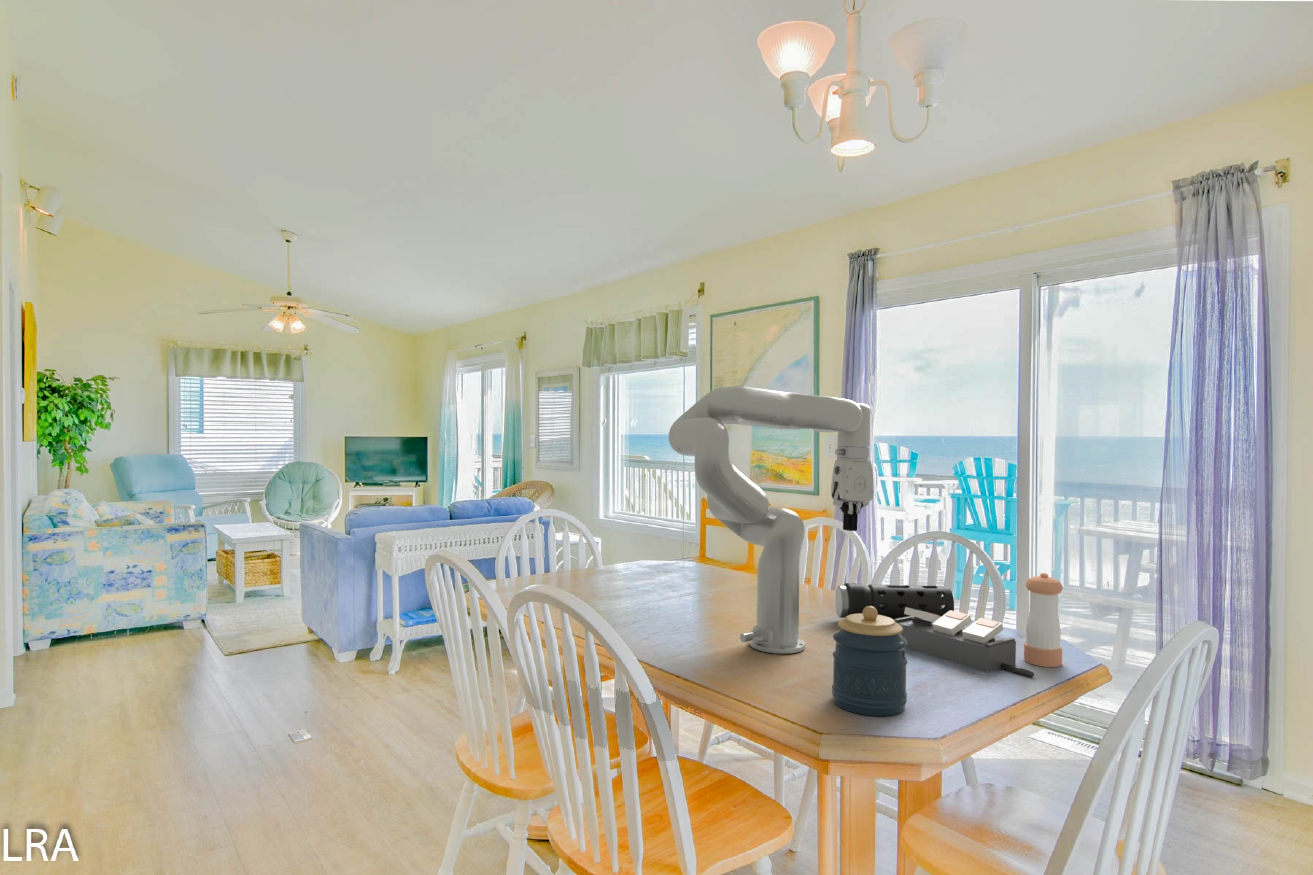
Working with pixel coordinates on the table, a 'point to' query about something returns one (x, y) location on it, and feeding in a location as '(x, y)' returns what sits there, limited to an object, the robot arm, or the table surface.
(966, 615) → the rocker
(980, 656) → the strip
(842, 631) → the canister
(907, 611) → the bar
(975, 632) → the rocker
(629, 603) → the table surface
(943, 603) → the muzzle brake
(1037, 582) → the pepper shaker
